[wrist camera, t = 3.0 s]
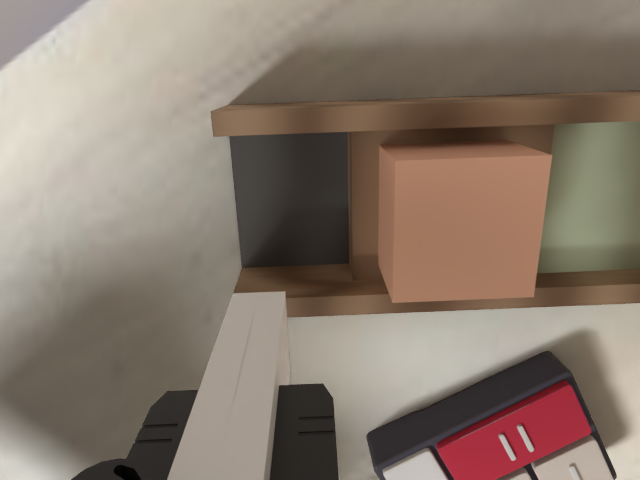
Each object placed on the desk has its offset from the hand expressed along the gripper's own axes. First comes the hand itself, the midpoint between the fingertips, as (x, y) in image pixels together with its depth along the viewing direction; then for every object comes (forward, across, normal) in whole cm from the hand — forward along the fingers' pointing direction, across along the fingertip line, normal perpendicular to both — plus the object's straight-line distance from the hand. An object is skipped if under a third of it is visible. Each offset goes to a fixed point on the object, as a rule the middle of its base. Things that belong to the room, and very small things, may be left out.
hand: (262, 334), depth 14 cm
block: (+14, +9, 0) cm, 16 cm away
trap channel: (+17, +15, 0) cm, 22 cm away
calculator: (+17, +14, -20) cm, 30 cm away
